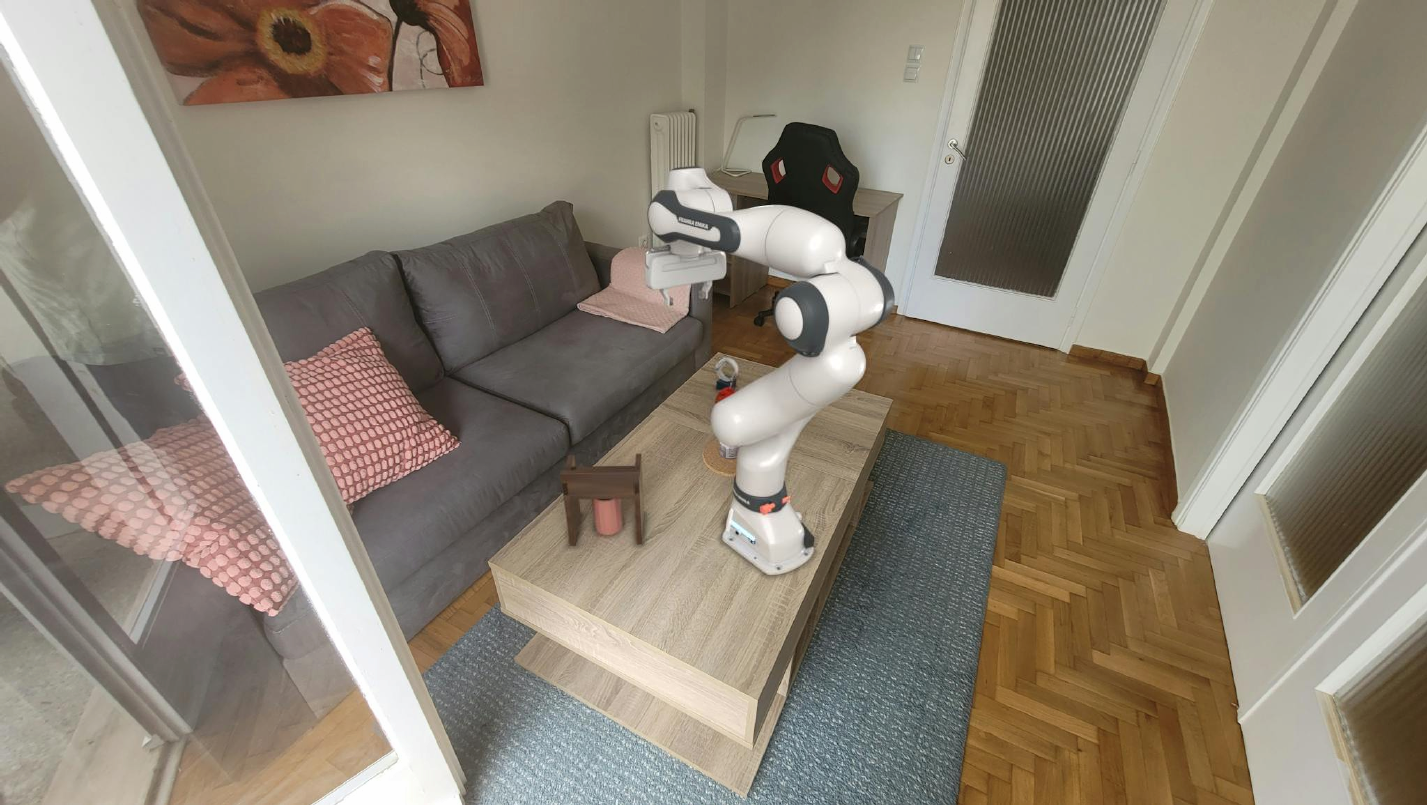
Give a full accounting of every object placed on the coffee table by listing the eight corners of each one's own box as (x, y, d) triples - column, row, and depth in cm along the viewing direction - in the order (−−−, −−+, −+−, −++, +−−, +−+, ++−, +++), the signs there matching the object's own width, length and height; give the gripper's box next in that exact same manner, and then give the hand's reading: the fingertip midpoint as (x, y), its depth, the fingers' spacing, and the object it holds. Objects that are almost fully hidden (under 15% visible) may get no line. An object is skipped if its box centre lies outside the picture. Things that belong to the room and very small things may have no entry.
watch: (720, 380, 200) (721, 352, 195) (740, 388, 197) (742, 359, 191) (711, 387, 196) (712, 358, 191) (731, 395, 193) (733, 365, 187)
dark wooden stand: (576, 515, 143) (567, 445, 131) (644, 514, 144) (640, 444, 132) (570, 545, 134) (560, 473, 123) (642, 544, 135) (638, 472, 124)
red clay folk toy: (722, 404, 188) (724, 363, 180) (741, 411, 184) (744, 370, 176) (709, 415, 182) (711, 373, 174) (728, 422, 179) (731, 380, 171)
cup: (627, 528, 139) (625, 494, 134) (602, 539, 136) (598, 505, 131) (615, 512, 144) (613, 479, 138) (590, 521, 141) (586, 488, 135)
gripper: (651, 251, 124) (653, 313, 130) (731, 240, 134) (728, 298, 140) (638, 245, 128) (640, 305, 135) (716, 235, 138) (714, 291, 145)
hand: (686, 301), depth 138 cm, fingers open, 8 cm apart
